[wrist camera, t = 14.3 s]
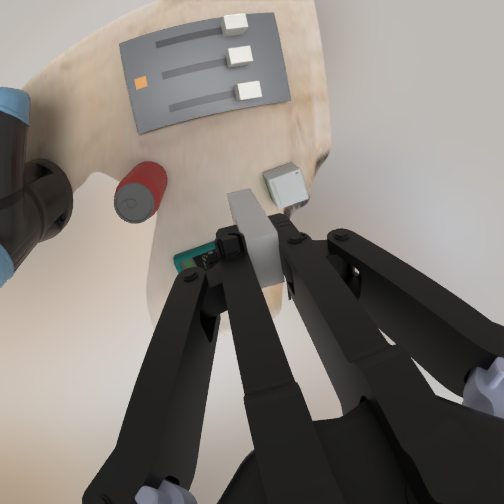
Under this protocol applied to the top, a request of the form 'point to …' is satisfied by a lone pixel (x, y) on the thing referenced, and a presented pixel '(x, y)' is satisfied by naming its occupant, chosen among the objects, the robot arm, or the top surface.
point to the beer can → (140, 192)
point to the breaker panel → (203, 69)
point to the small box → (286, 185)
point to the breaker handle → (239, 56)
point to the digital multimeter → (197, 258)
